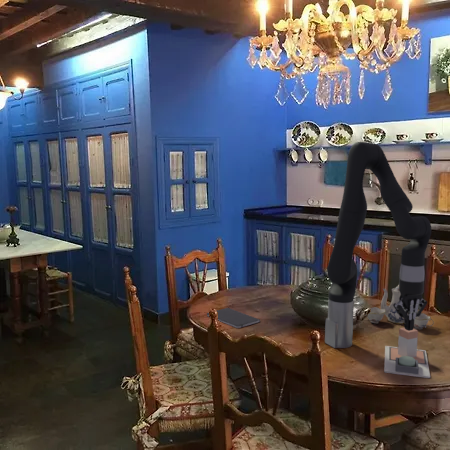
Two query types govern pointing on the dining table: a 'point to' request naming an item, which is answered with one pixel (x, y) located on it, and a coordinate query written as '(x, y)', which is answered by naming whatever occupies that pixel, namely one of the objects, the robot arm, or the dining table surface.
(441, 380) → the dining table surface
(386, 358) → the picture board
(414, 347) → the white and pink block
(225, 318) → the notebook
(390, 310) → the chinaware
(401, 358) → the button
